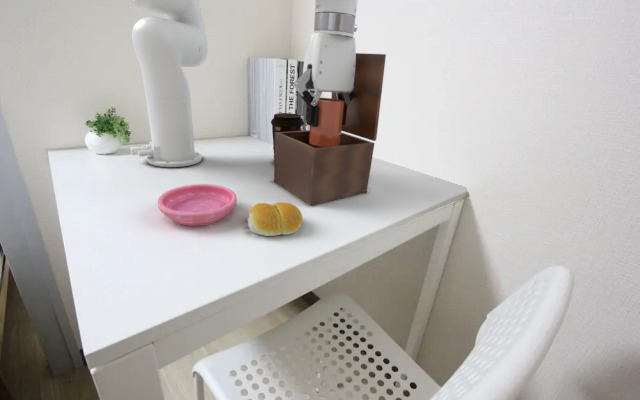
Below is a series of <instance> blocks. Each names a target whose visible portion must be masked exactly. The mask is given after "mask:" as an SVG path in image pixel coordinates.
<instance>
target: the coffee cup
mask: <svg viewBox="0 0 640 400" xmlns="http://www.w3.org/2000/svg"><path fill="white" fill-rule="evenodd" d="M270 124H271V126H272V127H271V131H272V132H271V133H272V134H271V135H272V144H273V145H272V150H273V159H274V158H275V132H291V131H302V127H303V126H304V124H305V122H304V119H303V118H302V116H301V114H298V113H290V112H289V113H288V112H277V113H275V114H273V118H272V119H271V121H270Z"/></svg>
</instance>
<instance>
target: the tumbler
mask: <svg viewBox="0 0 640 400" xmlns="http://www.w3.org/2000/svg"><path fill="white" fill-rule="evenodd" d="M344 103H345V101H344V100H339V99H333V98H332V97H320V98H319V100H318V102H317V105H316V106H319V116H318V126H317V127H313V126H310V125H309V130H310V132H309V143H310V144H312V145H315V146H319V147H330V146H339V145H340V140H341V132H343V131H342V121H343V112H344Z"/></svg>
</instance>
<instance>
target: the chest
mask: <svg viewBox="0 0 640 400" xmlns="http://www.w3.org/2000/svg"><path fill="white" fill-rule="evenodd" d="M309 132H310V129H309V130H307V129H306V130H301V131H291V132H275V158H274V157H273V182H274V183H275V184H277V185H278V186H280V187H281V188H282V189H284V190H286V191H288V192H289V193H291V194H292V195H294V196H295V197H296V198H298V199H300V200H301V201H303V202H304V203H306V204H307V205H309V206H315V205H320V204H324V203H328V202H332V201H337V200H340V199H345V198H349V197H353V196H358V195H362V194H365V193H368V188H369V182H370V181H369V180H370V174H371V168H372V162H373V155H374V149H375V142H374V141H371V140H368V139H365V138H362V137H359V136H355V135H352V134H349V133H346V132H343V131H341V140H340V145H339V146H330V147H319V146H315V145H312V144H310V143H309Z"/></svg>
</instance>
